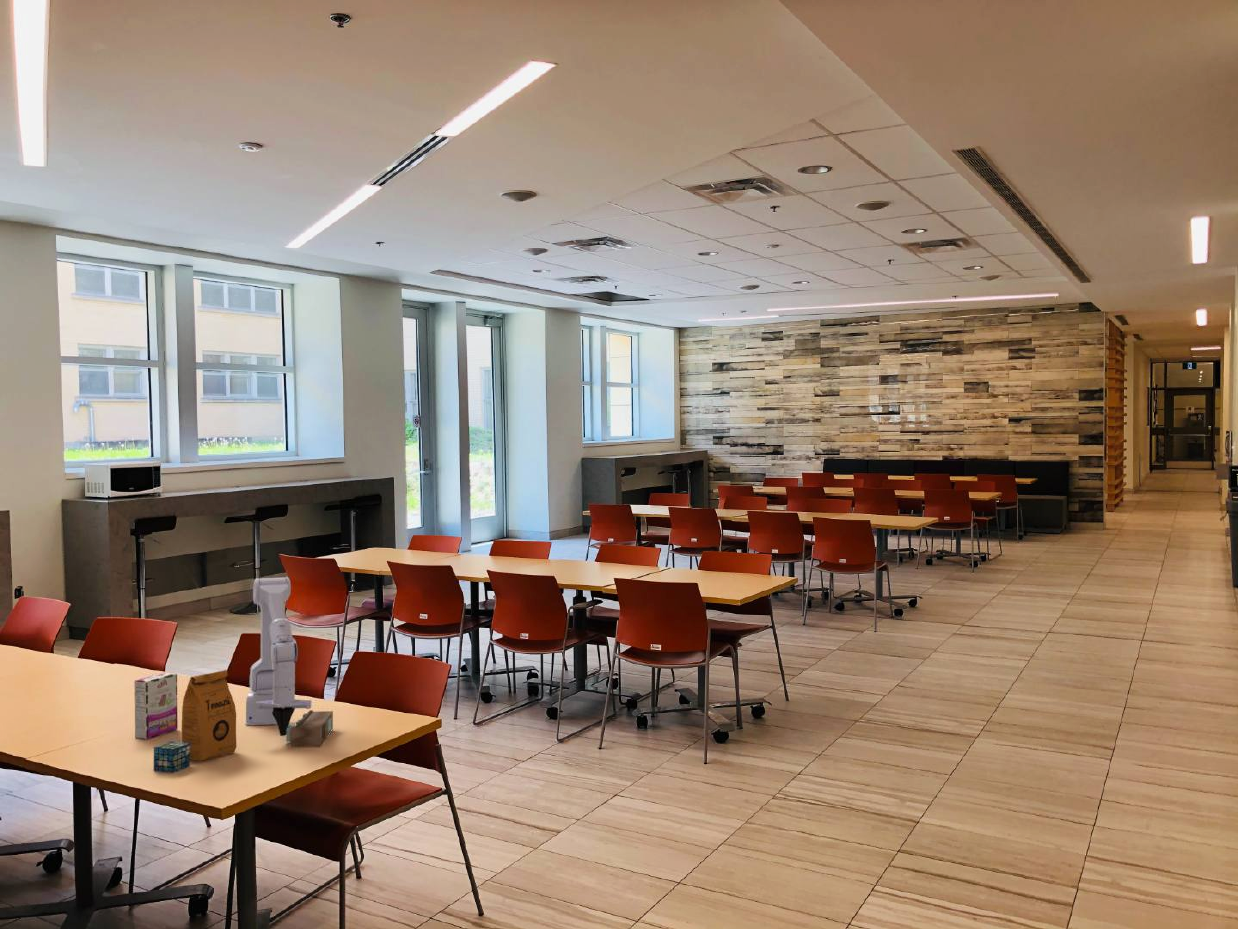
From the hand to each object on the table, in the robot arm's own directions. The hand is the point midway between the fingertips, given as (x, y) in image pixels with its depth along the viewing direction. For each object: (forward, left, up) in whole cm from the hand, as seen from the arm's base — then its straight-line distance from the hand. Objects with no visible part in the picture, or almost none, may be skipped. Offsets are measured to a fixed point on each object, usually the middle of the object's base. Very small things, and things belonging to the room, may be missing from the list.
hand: (283, 735), depth 265 cm
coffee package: (-16, -11, -2) cm, 20 cm away
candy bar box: (-38, +12, -2) cm, 40 cm away
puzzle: (-22, -21, -2) cm, 31 cm away
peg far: (+7, +8, -2) cm, 11 cm away
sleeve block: (+7, +4, -2) cm, 8 cm away
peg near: (+5, 0, -2) cm, 6 cm away
